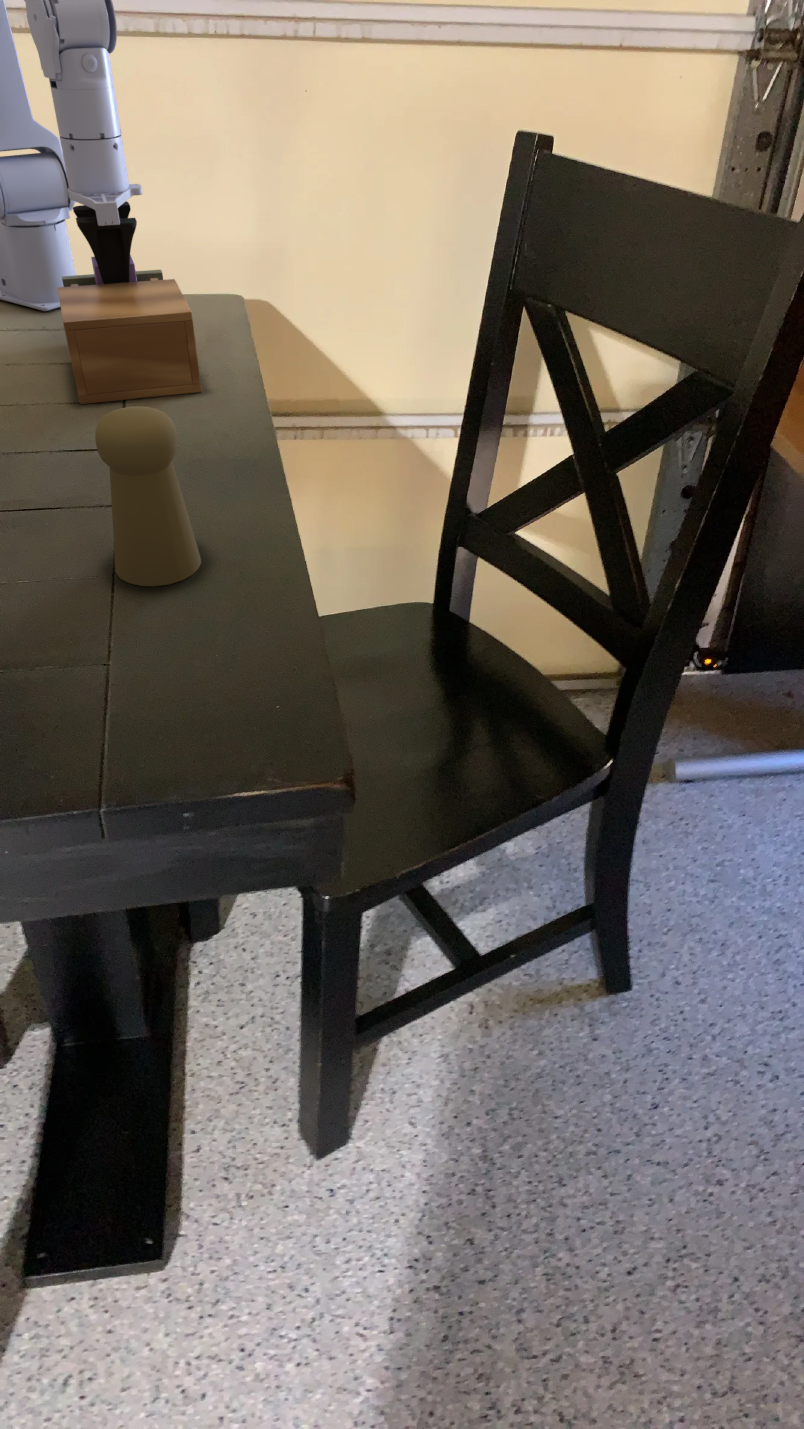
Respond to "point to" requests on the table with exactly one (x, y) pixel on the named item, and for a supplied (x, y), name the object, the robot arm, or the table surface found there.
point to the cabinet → (130, 340)
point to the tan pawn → (146, 498)
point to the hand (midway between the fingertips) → (116, 286)
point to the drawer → (90, 280)
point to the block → (98, 275)
